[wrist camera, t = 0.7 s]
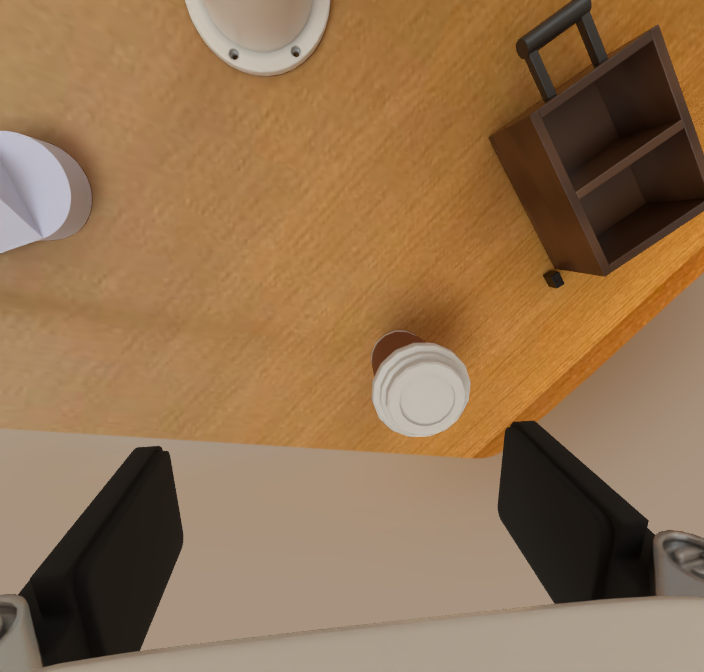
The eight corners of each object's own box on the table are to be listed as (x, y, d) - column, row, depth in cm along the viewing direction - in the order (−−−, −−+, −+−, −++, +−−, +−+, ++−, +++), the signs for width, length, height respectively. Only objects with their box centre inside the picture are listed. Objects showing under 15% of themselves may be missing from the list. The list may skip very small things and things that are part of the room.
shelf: (462, 86, 38) (499, 50, 30) (568, 9, 37) (633, -48, 29) (554, 268, 43) (605, 276, 36) (648, 205, 42) (720, 200, 35)
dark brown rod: (542, 275, 44) (550, 276, 42) (655, 199, 43) (668, 197, 41) (548, 286, 44) (557, 288, 43) (660, 211, 43) (673, 211, 42)
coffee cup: (365, 399, 46) (383, 456, 34) (353, 326, 43) (367, 361, 32) (440, 385, 46) (482, 436, 35) (432, 311, 44) (474, 340, 32)
